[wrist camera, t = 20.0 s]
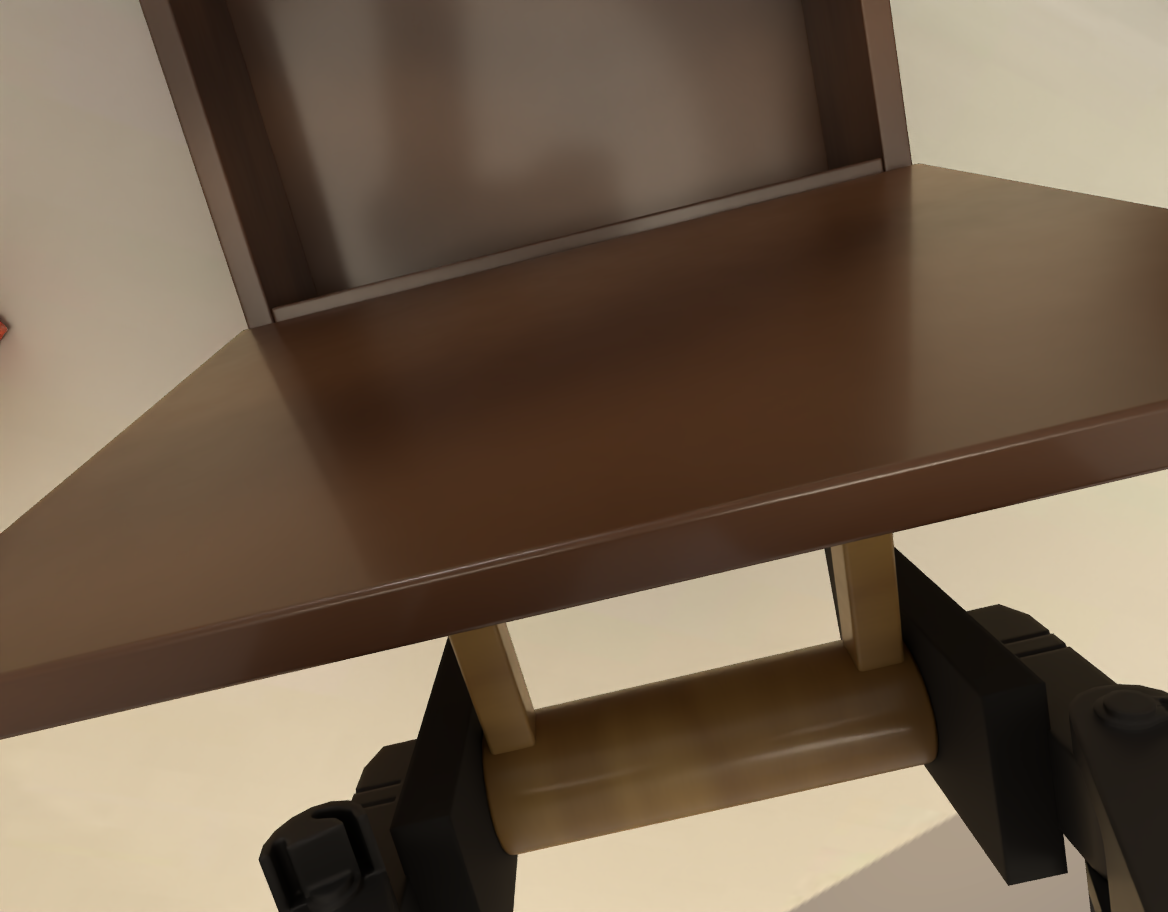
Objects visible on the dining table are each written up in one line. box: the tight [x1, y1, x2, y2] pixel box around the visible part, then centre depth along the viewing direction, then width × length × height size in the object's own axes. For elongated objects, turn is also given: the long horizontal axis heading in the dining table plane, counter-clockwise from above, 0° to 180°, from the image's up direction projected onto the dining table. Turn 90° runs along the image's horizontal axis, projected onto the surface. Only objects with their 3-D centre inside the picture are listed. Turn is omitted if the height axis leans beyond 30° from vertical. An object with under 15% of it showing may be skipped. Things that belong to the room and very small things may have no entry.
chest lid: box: [0, 163, 1168, 855], centre depth 17 cm, size 16×20×6 cm
